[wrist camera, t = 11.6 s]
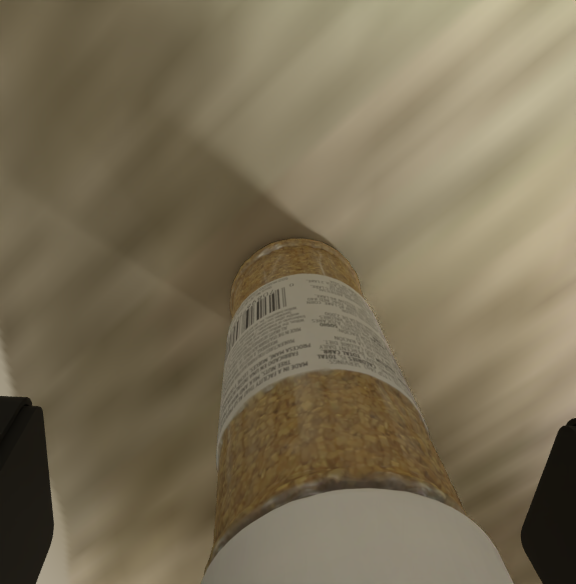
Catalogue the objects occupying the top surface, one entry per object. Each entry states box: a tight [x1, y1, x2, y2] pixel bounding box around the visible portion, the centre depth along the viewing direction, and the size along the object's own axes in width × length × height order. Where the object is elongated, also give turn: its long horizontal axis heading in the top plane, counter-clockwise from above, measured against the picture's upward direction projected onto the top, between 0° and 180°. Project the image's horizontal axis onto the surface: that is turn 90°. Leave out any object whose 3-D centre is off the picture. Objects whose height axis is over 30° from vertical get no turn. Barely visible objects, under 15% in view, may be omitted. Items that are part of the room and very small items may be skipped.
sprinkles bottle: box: [201, 238, 514, 584], centre depth 13 cm, size 5×5×13 cm
